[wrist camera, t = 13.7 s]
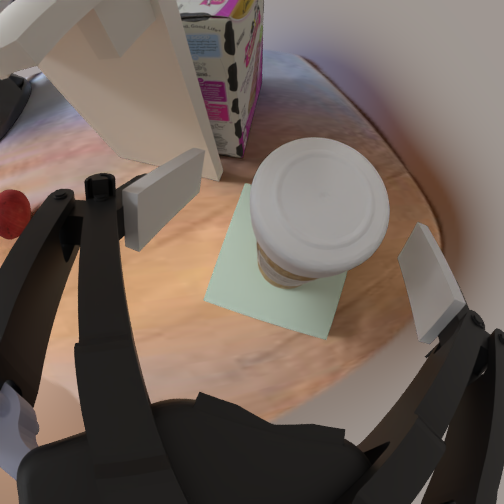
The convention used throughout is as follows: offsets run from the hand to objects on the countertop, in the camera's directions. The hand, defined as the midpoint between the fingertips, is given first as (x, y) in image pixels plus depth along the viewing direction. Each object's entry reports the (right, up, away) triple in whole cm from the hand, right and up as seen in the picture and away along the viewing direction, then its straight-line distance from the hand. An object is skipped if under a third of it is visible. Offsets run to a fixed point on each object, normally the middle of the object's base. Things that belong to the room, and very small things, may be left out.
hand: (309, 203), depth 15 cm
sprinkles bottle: (-1, -3, +6) cm, 7 cm away
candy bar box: (-5, +12, +12) cm, 18 cm away
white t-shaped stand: (-13, +4, +11) cm, 17 cm away
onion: (-32, +1, +11) cm, 33 cm away
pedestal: (-1, -4, +9) cm, 10 cm away
